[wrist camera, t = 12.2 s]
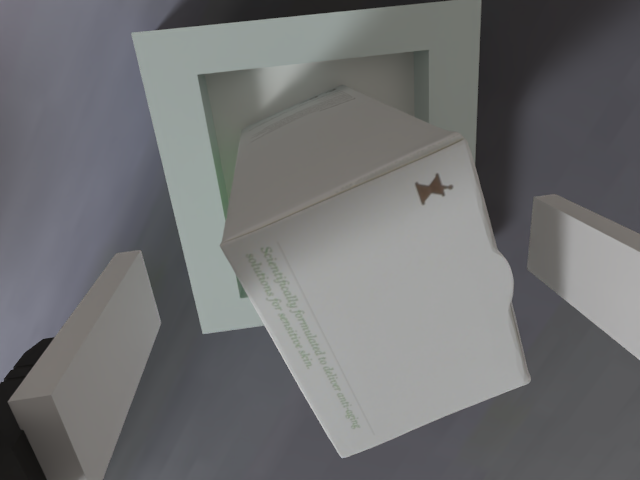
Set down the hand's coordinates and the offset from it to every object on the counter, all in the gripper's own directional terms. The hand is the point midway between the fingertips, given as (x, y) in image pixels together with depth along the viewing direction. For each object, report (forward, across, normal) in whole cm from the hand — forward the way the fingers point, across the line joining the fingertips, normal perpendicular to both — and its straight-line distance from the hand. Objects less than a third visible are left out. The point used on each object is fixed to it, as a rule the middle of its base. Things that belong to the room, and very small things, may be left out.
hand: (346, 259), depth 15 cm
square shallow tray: (+13, +1, 0) cm, 13 cm away
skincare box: (+12, +1, 0) cm, 12 cm away
